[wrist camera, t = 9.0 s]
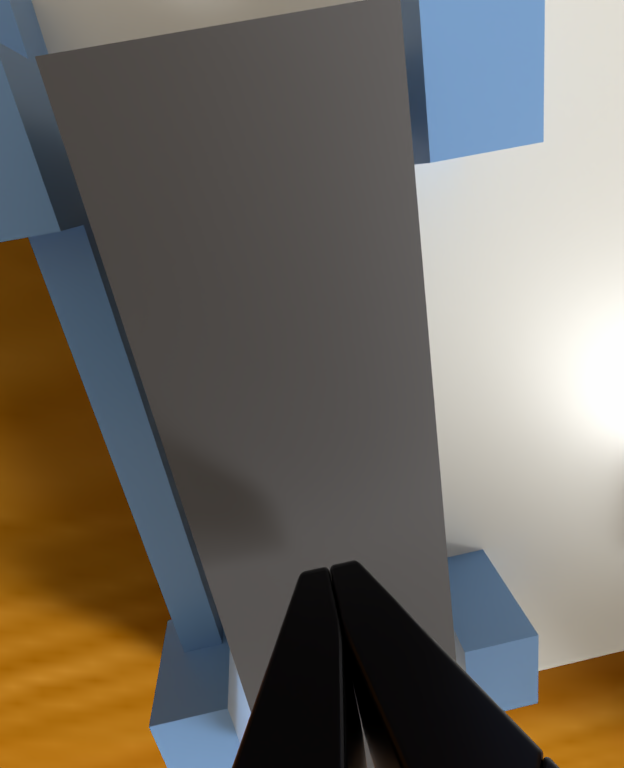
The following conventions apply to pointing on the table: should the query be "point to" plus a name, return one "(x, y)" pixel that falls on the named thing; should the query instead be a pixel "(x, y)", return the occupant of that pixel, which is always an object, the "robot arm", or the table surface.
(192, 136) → the long grey block
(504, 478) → the board
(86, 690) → the table surface
